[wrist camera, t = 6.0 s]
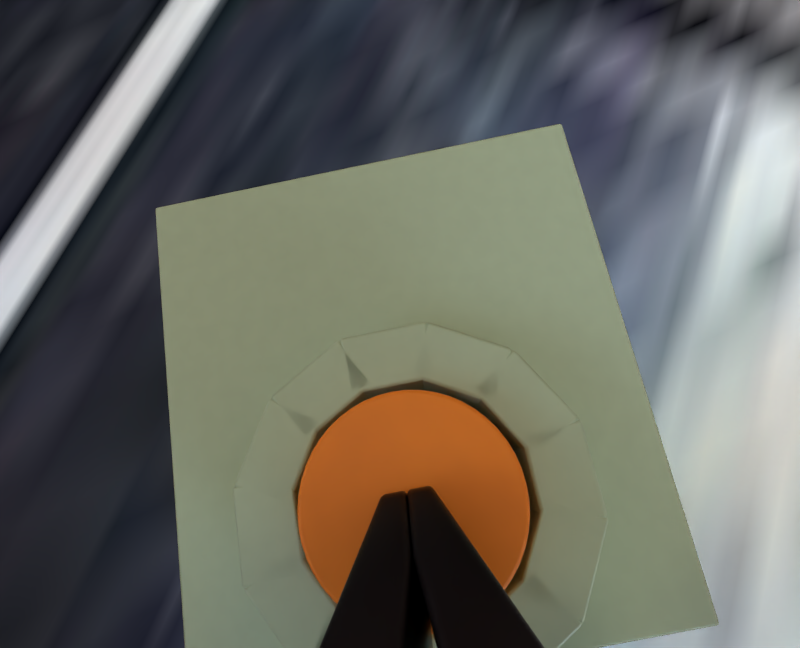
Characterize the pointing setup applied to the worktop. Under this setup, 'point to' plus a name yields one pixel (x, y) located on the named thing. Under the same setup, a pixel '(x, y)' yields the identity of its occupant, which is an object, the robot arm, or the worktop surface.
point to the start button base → (414, 383)
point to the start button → (411, 480)
